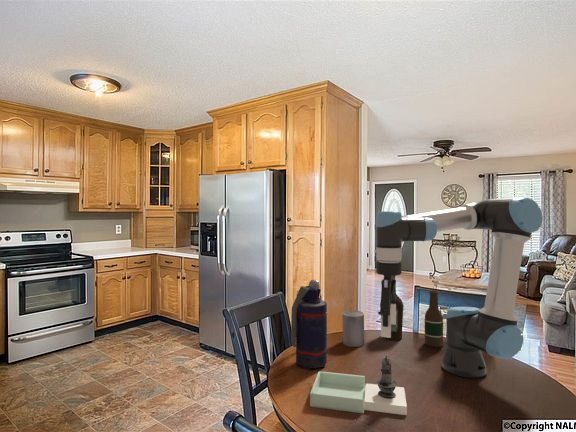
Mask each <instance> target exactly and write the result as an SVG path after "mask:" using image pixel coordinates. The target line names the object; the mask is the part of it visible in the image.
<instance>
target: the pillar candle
mask: <svg viewBox="0 0 576 432" xmlns="http://www.w3.org/2000/svg"><path fill="white" fill-rule="evenodd" d="M342 344H343V345H344V346H346V347H350V348H351V347H352V348H353V347H354V348H355V347H357V348H358V347H359V348H360V347H363V346H364V345H365V314H364V312H363V311H360V310H353V309H352V310H350V309H349V310H345V311H342Z"/></svg>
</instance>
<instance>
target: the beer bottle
mask: <svg viewBox="0 0 576 432" xmlns="http://www.w3.org/2000/svg"><path fill="white" fill-rule="evenodd" d="M428 293H429V303H428V308H427V310H426V312H425V313H424V344H425V345H426V346H428V347H431V348H441V347H443V346H444V317H443V314H442V312H441V311H440V307H439V298H438V297H439V291H437V290H435V289H431V290H429V292H428Z"/></svg>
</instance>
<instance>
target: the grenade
mask: <svg viewBox="0 0 576 432" xmlns="http://www.w3.org/2000/svg"><path fill="white" fill-rule="evenodd" d="M299 287H300V288H299V289H298V291H297V292H296V296H295V299H294V302H293V304H292V307H291V319H290V320H291V321H290V326H291V327H290V345H291V346H292V347H293V348H295V349H296V350H295V363H296V364H297V365H299V366H301V367H302V369H303V370H306V371H310V370H311V369H318V368H325V366H326V364H327V363H328V361H327V359H328V357H327V354H328V351H327V349H328V344H327V343H328V341H327V340H328V336H327V335H328V330H327V329H328V324H327V323H328V320H327V319H328V318H327V316H328V313H327V312H328V311H327V310H328V308H327V307H328V306H327V305H328V303H327V302H326V301H324V300H322V299H320V300H319V298H320V295H321V291H322V290H321V288H320V289H319V288H316V287H311V286H309V285H306V286H304V285H303V286H302V285H301V286H299Z"/></svg>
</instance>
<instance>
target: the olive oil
mask: <svg viewBox="0 0 576 432" xmlns="http://www.w3.org/2000/svg"><path fill="white" fill-rule="evenodd" d="M396 298H397V299H396V300H398V304H396V303H394V304H396V325H394V324H391V338H387V337H381V338H382V339H384V340H386V341H392V342H394V341H396V342H397V341H401V340H403V326H404V325H403V324H404V322H403V320H404V302H403V300H402V299H401V297H400V296H399V295H398V294H397V293H396ZM380 305H381V301H380V303H379V306H380Z"/></svg>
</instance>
